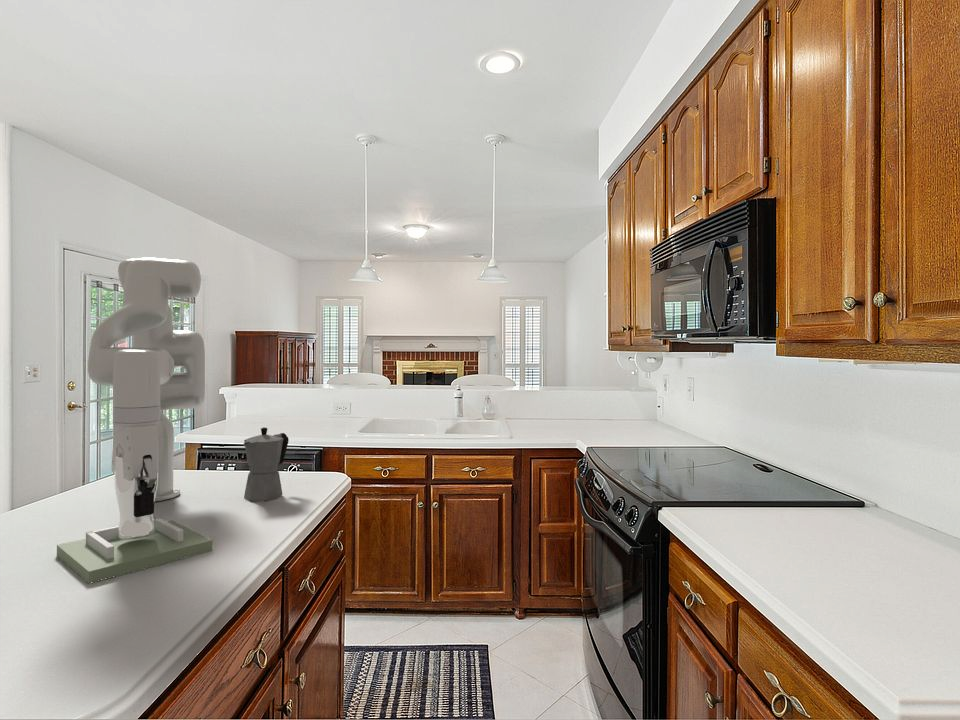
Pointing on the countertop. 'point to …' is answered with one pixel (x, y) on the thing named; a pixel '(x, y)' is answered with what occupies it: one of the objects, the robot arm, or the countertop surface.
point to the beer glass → (131, 506)
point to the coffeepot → (264, 465)
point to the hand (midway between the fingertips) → (136, 510)
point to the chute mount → (130, 550)
